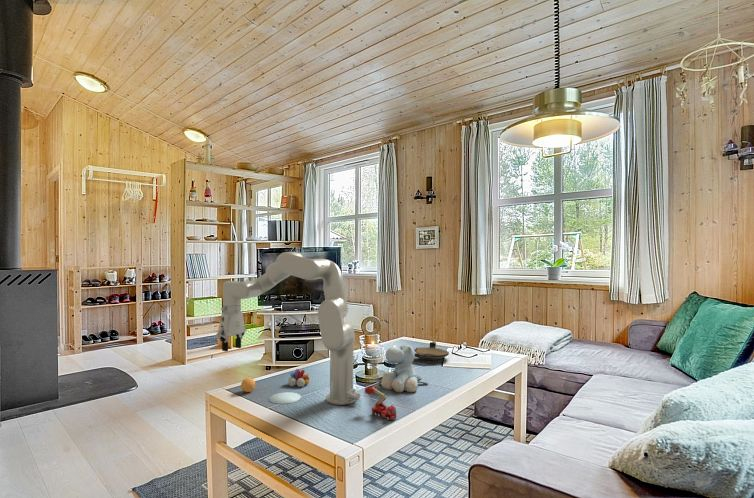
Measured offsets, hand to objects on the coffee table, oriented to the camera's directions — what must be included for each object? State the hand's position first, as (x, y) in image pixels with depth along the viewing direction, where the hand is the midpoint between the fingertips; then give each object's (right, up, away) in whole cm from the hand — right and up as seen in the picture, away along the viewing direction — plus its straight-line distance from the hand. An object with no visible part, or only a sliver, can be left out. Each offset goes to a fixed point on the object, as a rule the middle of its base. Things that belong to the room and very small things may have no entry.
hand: (231, 348), depth 185 cm
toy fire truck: (+66, -18, -29) cm, 74 cm away
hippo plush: (+77, -18, +6) cm, 80 cm away
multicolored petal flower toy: (+29, -18, +6) cm, 34 cm away
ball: (+9, -15, -4) cm, 17 cm away
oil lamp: (+96, -18, +53) cm, 111 cm away
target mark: (+26, -18, -12) cm, 34 cm away
